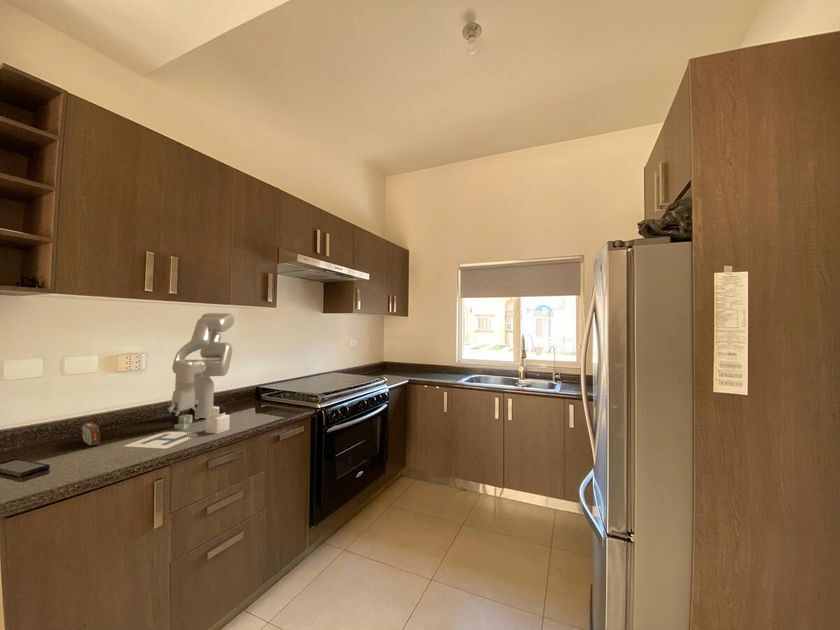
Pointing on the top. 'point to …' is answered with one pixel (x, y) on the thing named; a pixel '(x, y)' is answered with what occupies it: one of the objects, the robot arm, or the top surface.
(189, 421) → the cover block
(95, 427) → the tin
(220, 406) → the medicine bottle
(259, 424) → the top surface
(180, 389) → the robot arm
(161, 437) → the letter sheet
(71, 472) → the top surface
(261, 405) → the top surface
